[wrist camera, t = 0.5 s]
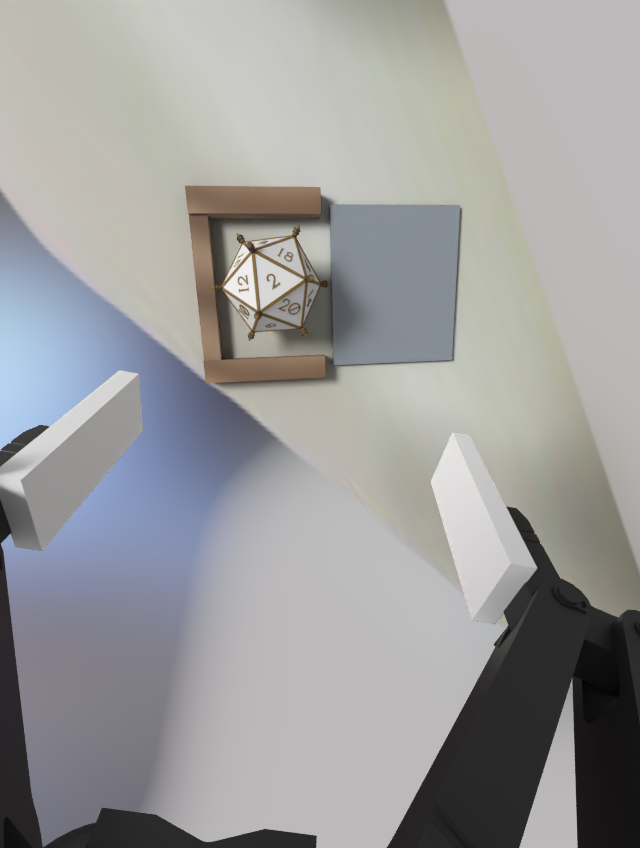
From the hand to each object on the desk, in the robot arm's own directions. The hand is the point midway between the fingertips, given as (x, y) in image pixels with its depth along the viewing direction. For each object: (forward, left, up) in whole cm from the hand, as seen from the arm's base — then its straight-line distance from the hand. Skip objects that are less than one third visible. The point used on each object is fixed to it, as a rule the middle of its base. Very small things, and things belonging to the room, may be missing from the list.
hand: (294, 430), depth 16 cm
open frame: (-8, -1, -22) cm, 23 cm away
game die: (-8, 0, -22) cm, 23 cm away
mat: (-8, +11, -22) cm, 26 cm away
